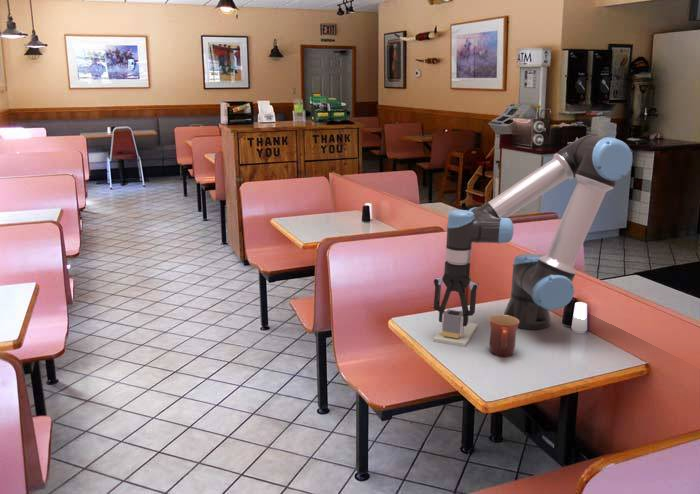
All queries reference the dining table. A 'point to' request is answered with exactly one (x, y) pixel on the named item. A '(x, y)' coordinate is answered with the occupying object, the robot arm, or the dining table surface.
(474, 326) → the pin board
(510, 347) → the mug
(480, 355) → the dining table surface
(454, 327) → the sleeve
